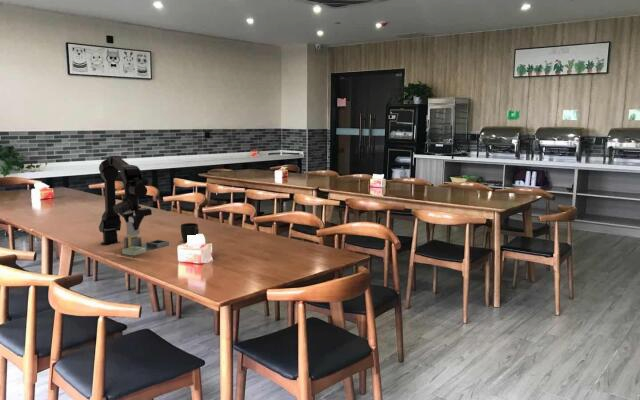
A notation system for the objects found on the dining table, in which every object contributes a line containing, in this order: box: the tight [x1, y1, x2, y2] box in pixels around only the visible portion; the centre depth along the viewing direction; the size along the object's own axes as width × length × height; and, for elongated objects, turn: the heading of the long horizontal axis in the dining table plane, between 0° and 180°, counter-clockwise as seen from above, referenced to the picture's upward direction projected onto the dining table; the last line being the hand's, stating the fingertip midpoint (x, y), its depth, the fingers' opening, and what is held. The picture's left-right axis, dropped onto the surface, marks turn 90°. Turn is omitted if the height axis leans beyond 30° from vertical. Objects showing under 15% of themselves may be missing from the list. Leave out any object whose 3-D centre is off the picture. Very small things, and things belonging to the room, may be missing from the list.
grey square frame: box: [120, 246, 147, 259], centre depth 237 cm, size 8×8×3 cm
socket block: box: [123, 236, 170, 252], centre depth 248 cm, size 14×15×6 cm
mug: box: [180, 222, 200, 244], centre depth 258 cm, size 8×12×10 cm
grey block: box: [125, 216, 140, 236], centre depth 235 cm, size 4×4×8 cm
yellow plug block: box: [125, 235, 138, 247], centre depth 245 cm, size 4×4×5 cm
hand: (133, 229), depth 236 cm, fingers closed on grey block, 4 cm apart
